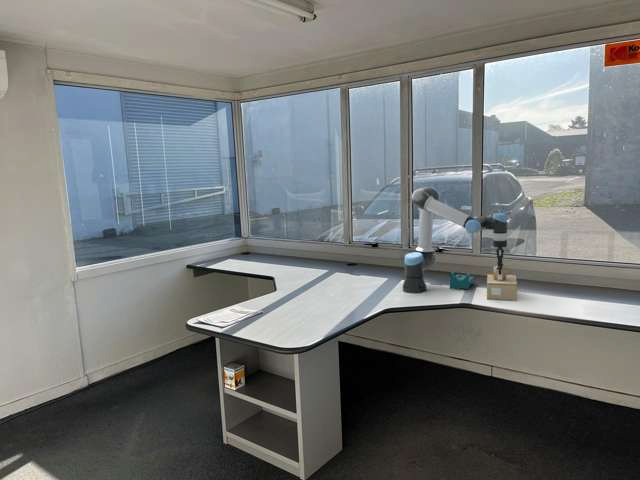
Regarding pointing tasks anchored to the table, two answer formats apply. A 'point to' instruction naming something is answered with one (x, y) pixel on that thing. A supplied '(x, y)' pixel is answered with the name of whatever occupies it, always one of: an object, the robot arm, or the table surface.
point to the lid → (509, 280)
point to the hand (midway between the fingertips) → (499, 278)
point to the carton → (502, 292)
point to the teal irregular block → (460, 281)
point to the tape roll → (502, 273)
